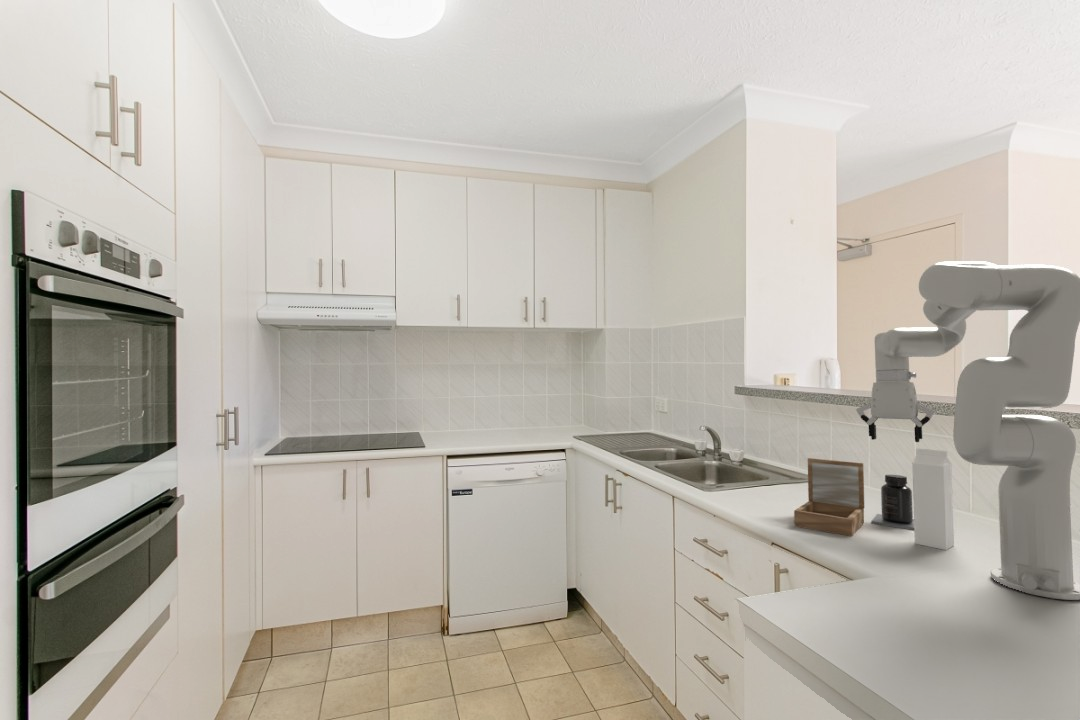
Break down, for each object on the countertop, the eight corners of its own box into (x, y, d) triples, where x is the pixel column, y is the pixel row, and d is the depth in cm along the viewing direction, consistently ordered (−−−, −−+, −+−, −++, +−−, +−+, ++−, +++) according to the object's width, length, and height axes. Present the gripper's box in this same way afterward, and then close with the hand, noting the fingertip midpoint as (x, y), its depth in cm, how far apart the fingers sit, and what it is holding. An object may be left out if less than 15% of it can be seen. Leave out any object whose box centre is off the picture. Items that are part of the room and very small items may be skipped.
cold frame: (852, 536, 122) (851, 470, 123) (793, 525, 131) (792, 464, 132) (864, 523, 134) (863, 463, 134) (809, 514, 143) (808, 457, 143)
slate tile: (917, 530, 127) (917, 528, 127) (871, 523, 134) (871, 520, 134) (921, 522, 134) (921, 520, 134) (877, 515, 141) (877, 513, 141)
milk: (946, 550, 112) (943, 452, 113) (914, 543, 117) (911, 449, 118) (954, 545, 116) (951, 450, 116) (922, 538, 120) (920, 447, 121)
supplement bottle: (919, 524, 130) (918, 478, 131) (893, 524, 130) (891, 478, 131) (900, 517, 137) (899, 473, 138) (875, 517, 137) (874, 473, 138)
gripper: (933, 377, 133) (936, 441, 132) (858, 378, 144) (860, 437, 143) (931, 376, 127) (934, 443, 126) (852, 377, 139) (855, 439, 138)
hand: (895, 440), depth 135 cm, fingers open, 9 cm apart
